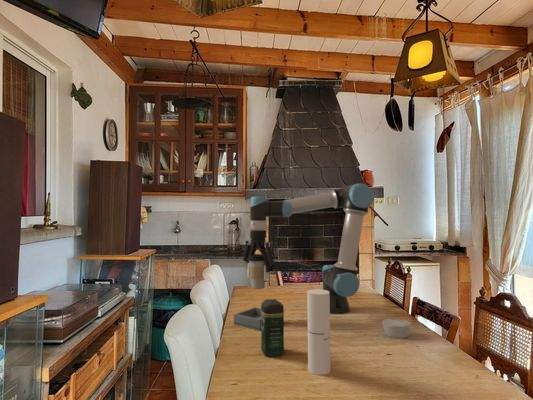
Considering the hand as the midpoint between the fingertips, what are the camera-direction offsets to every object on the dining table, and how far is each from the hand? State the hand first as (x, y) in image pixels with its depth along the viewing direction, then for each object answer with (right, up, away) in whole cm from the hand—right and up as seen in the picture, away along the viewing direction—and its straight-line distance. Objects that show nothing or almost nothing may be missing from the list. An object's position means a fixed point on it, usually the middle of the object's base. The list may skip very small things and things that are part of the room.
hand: (257, 277), depth 170 cm
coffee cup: (0, -5, 0) cm, 5 cm away
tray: (0, -20, -3) cm, 20 cm away
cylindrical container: (+21, -19, -52) cm, 59 cm away
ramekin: (+57, -19, -20) cm, 64 cm away
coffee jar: (+6, -19, -37) cm, 42 cm away
